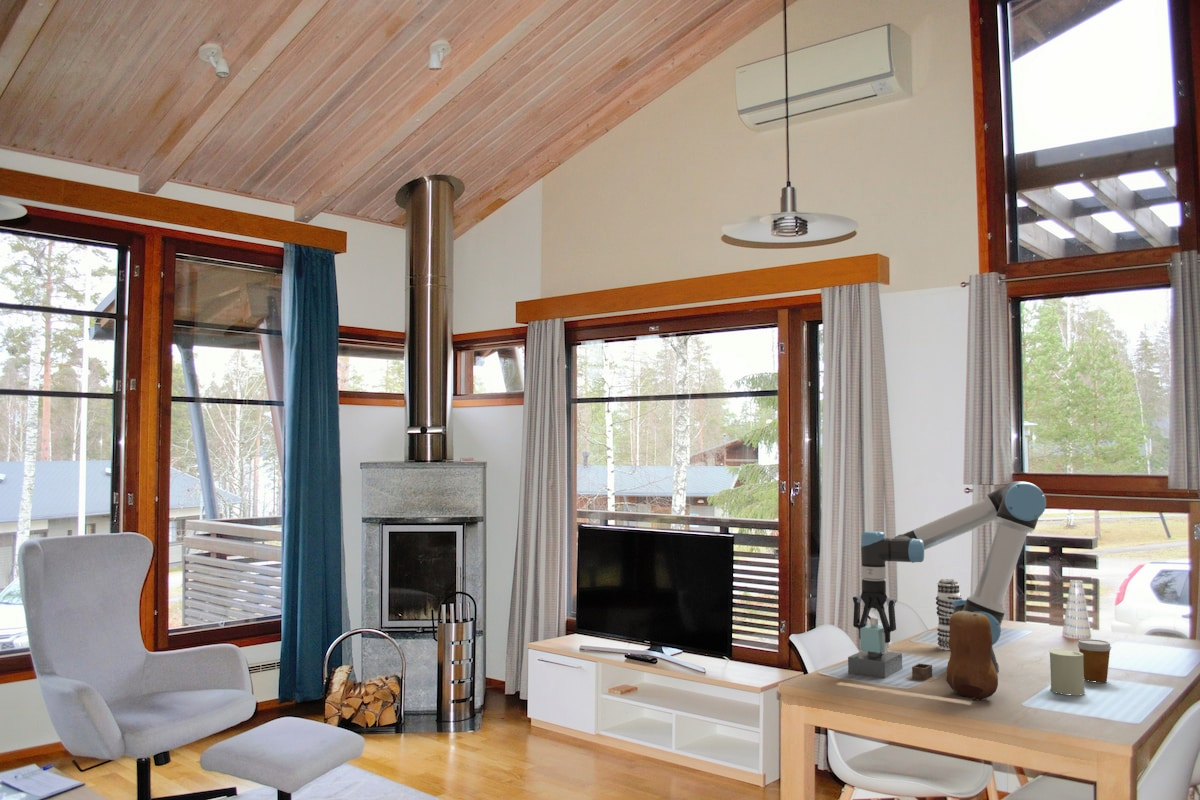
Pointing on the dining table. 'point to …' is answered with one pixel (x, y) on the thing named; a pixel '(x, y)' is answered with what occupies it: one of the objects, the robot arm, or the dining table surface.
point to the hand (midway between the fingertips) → (874, 651)
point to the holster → (922, 673)
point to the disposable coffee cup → (1095, 659)
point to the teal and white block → (872, 638)
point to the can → (1067, 672)
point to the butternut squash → (971, 656)
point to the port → (875, 664)
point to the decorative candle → (946, 609)
